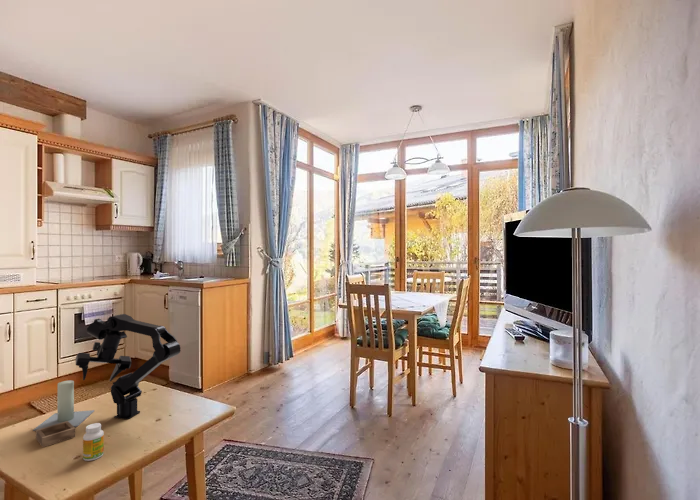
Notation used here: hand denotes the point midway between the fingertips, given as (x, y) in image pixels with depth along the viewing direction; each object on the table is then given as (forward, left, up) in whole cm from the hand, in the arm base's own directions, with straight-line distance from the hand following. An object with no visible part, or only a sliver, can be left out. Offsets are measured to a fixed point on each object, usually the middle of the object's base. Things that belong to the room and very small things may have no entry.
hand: (97, 380), depth 150 cm
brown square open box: (-3, +20, -13) cm, 24 cm away
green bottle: (+6, +8, -13) cm, 16 cm away
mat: (+6, +8, -13) cm, 16 cm away
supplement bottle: (-26, +28, -13) cm, 40 cm away
